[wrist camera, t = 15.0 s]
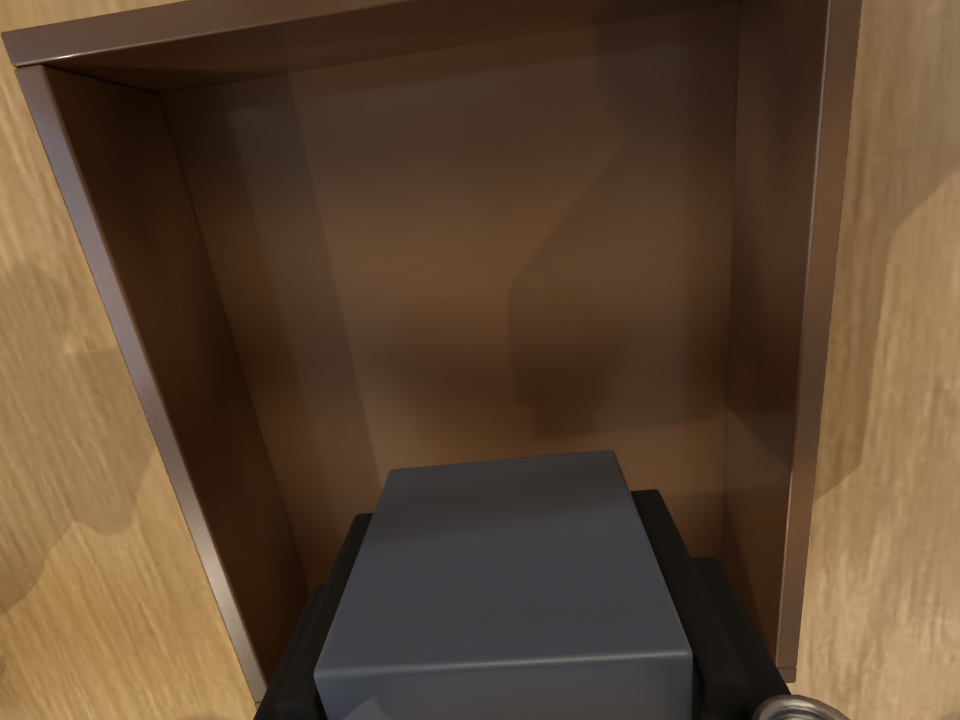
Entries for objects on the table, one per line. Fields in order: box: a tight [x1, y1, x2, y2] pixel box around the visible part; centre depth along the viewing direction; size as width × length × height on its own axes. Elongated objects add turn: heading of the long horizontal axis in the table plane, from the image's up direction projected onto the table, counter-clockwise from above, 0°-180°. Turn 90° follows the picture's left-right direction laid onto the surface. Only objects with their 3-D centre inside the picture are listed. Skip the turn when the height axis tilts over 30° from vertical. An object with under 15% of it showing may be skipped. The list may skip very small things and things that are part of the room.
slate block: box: [314, 450, 693, 720], centre depth 9 cm, size 4×4×4 cm
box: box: [1, 0, 862, 710], centre depth 12 cm, size 15×13×4 cm
